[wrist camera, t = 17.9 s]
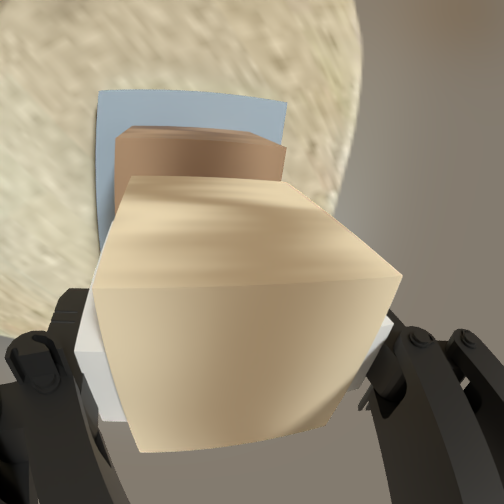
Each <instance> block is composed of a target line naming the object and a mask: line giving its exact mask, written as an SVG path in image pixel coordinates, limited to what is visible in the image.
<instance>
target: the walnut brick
mask: <svg viewBox="0 0 504 504" xmlns="http://www.w3.org/2000/svg"><path fill="white" fill-rule="evenodd" d="M285 154H286V147H284V146H282V145H279V144H277V143H275V142H272V141H270V140H268V139H265V138H263V137H261V136H258V135H256V134H253V133H251V132H247V131H238V130H227V129H214V128H199V127H179V126H131V127H130V128H128V129H127V130H126V131H124V132H123V133H122V134H120V135H119V136H118V137H116V138H115V165H114V193H115V216H116V213H117V211H118V208H119V205H120V203H121V200H122V198H123V195H124V193H125V190H126V188H127V185H128V183H129V181H130V178H131V176H191V177H217V178H237V179H253V180H267V181H280V182H281V178H282V172H283V166H284V160H285Z"/></svg>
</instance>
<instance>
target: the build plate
mask: <svg viewBox="0 0 504 504" xmlns="http://www.w3.org/2000/svg"><path fill="white" fill-rule="evenodd" d="M286 108H287V102H281V101H275V100H269V99H262V98H255V97H248V96H240V95H231V94H222V93H211V92H198V91H181V90H104V91H99V96H98V109H97V126H96V199H97V217H98V230H99V242H100V251H102V248H103V245H104V242H105V240H106V237H107V234H108V231H109V229H110V226H111V223H112V221H114V219H115V193H114V165H115V138H116V137H118V136H119V135H120V134H122V133H123V132H124V131H126V130H127V129H128V128H130V127H131V126H179V127H199V128H214V129H227V130H238V131H247V132H251V133H253V134H256V135H258V136H261V137H263V138H265V139H268V140H270V141H272V142H275V143H277V144H279V145H281V140H282V134H283V128H284V121H285V115H286Z"/></svg>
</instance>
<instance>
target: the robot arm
mask: <svg viewBox="0 0 504 504" xmlns="http://www.w3.org/2000/svg"><path fill="white" fill-rule="evenodd" d="M112 224H113V221H112V223H111V226H110V229H109V231H108V234H107V237H106V240H105V242H104V245H103V248H102V251H101V254H100V257H99V260H98V263H97V266H96V269H95V273H94V276H93V279H92V282H91V286H90V289H81V288H69V289H68V290H67V291H66V292H65V293H64V294H63V295H62V296H61V297H60V298H59V300H58V303H57V305H56V308H55V313H53V316H52V319H51V323H50V325H49V328H48V331H47V332H45V331H30V332H27V333H24V334H22V335H20V336H19V337H17V338H16V339H15V340H13V341H12V343H11V344H10V345H9V347H8V348H7V351H6V355H5V360H6V362H7V364H8V365H9V367H10V369H11V371H12V373H13V374H14V376H15V378H16V380H17V381H16V382H13V383H8V384H2V385H0V504H38V499H39V503H40V504H130V502H129V500H128V498H127V496H126V494H125V492H124V490H123V487H122V485H121V483H120V481H119V478H118V476H117V474H116V471H115V469H114V466H113V463H112V461H111V458H110V456H109V453H108V450H107V448H106V445H105V442H104V439H103V437H102V434H101V432H100V430H99V428H98V412H99V414H100V416H101V418H102V420H103V421H123V422H125V421H126V422H128V421H127V419H126V416H125V413H124V410H123V407H122V404H121V401H120V398H119V395H118V392H117V389H116V386H115V383H114V379H113V376H112V373H111V369H110V366H109V362H108V358H107V355H106V351H105V347H104V343H103V339H102V335H101V331H100V326H99V322H98V317H97V312H96V307H95V302H94V297H93V291H92V286H93V283H94V279H95V276H96V273H97V269H98V266H99V263H100V260H101V256H102V253H103V250H104V247H105V244H106V241H107V238H108V235H109V233H110V230H111V227H112ZM365 377H367V378H368V380H369V381H370V382H371V385H370V387H369V388H368V390H367V392H366V393H365V395H364V396H363V398H362V399H361V401H360V403H359V405H358V410H359V411H361V410H362V409H363V407H364V406H365V405H366V403H367V402H368V401H369V403H368V405H367V407H366V410H371V413H372V416H373V420H374V424H375V428H376V432H377V436H378V440H379V445H380V449H381V453H382V458H383V462H384V467H385V471H386V476H387V480H388V486H389V491H390V496H391V501H392V504H504V366H503V365H502V364H501V363H500V361H499V360H498V359H497V358H496V357H495V356H494V355H493V354H492V352H491V351H490V350H489V349H488V348H487V347H486V346H485V344H484V343H483V342H482V341H481V340H480V339H479V338H478V337H477V336H476V335H475V334H473V333H472V332H470V331H469V330H465V329H457V330H455V331H454V333H453V334H452V336H451V337H450V339H449V341H436V340H435V338H434V337H433V336H432V335H431V334H430V333H428V332H427V331H426V330H424V329H421V328H419V327H414V326H409V327H406V326H404V324H403V323H402V322H401V321H400V320H399V319H398V318H397V316H395V314H394V313H393V312H392V311H391V310H390V309H389V310H388V312H387V314H386V316H385V318H384V321H383V323H382V325H381V327H380V329H379V331H378V333H377V335H376V337H375V339H374V341H373V343H372V345H371V347H370V349H369V351H368V353H367V355H366V357H365V359H364V361H363V363H362V365H361V366H360V368H359V370H358V372H357V374H356V376H355V377H354V379H353V381H352V383H351V384H350V386H349V388H348V390H347V391H346V392H348V391H351V390H355V389H358V388H359V387H360V385H361V384H362V382H363V381H364V379H365ZM465 377H467V378H468V379H469V381H470V383H469V384H468V385H467V386H466V388H465V389H464V390H463V389H462V387H461V386H460V384H461V382H462V381H463V380H464V378H465Z"/></svg>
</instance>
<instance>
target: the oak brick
mask: <svg viewBox="0 0 504 504" xmlns="http://www.w3.org/2000/svg"><path fill="white" fill-rule="evenodd" d="M402 277H403V276H402V275H401V274H400V273H399V272H398V271H397V270H396V269H395V268H393V267H392V266H391V265H390V264H389V263H388V262H387V261H385V260H384V259H383V258H382V257H381V256H380V255H378V254H377V253H376V252H375V251H374V250H372V249H371V248H370V247H369V246H368V245H367V244H365V243H364V242H363V241H362V240H361V239H359V238H358V237H357V236H355V235H354V234H353V233H352V232H351V231H350V230H348V229H347V228H346V227H345V226H343V225H342V224H341V223H340V222H338V221H337V220H336V219H335V218H333V217H332V216H331V215H330V214H328V213H327V212H326V211H324V210H323V209H322V208H321V207H319V206H318V205H317V204H315V203H314V202H313V201H312V200H310V199H309V198H308V197H306V196H305V195H304V194H302V193H301V192H300V191H298V190H297V189H296V188H294V187H293V186H292V185H290V184H289V183H287V182H280V181H267V180H253V179H237V178H217V177H191V176H131V178H130V181H129V183H128V185H127V188H126V190H125V193H124V195H123V198H122V200H121V203H120V205H119V208H118V211H117V213H116V216H115V219H114V221H113V224H112V227H111V230H110V233H109V235H108V238H107V241H106V244H105V247H104V250H103V253H102V256H101V260H100V263H99V266H98V269H97V273H96V276H95V279H94V283H93V286H92V291H93V297H94V302H95V307H96V312H97V317H98V322H99V326H100V331H101V335H102V339H103V343H104V347H105V351H106V355H107V358H108V362H109V366H110V369H111V373H112V376H113V379H114V383H115V386H116V389H117V392H118V395H119V398H120V401H121V404H122V407H123V410H124V413H125V416H126V419H127V421H128V424H129V427H130V429H131V432H132V434H133V437H134V439H135V442H136V444H137V447H138V449H139V452H141V453H142V452H144V453H146V452H173V451H188V450H199V449H209V448H217V447H226V446H233V445H239V444H246V443H252V442H257V441H262V440H268V439H272V438H278V437H282V436H286V435H291V434H295V433H299V432H304V431H307V430H311V429H315V428H319V427H322V426H325V425H326V424H327V422H328V421H329V419H330V418H331V416H332V414H333V413H334V411H335V410H336V408H337V406H338V405H339V403H340V401H341V400H342V398H343V396H344V395H345V393H346V391H347V390H348V388H349V386H350V384H351V383H352V381H353V379H354V377H355V376H356V374H357V372H358V370H359V368H360V366H361V365H362V363H363V361H364V359H365V357H366V355H367V353H368V351H369V349H370V347H371V345H372V343H373V341H374V339H375V337H376V335H377V333H378V331H379V329H380V327H381V325H382V323H383V321H384V318H385V316H386V314H387V312H388V310H389V307H390V305H391V303H392V301H393V298H394V296H395V293H396V291H397V289H398V286H399V284H400V282H401V279H402Z"/></svg>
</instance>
